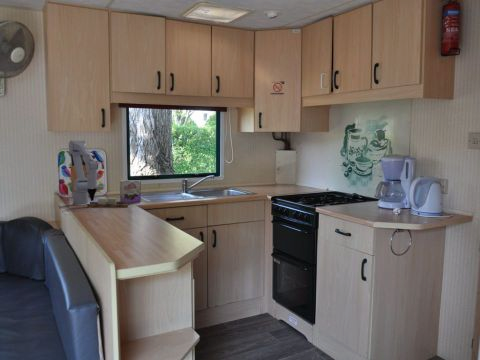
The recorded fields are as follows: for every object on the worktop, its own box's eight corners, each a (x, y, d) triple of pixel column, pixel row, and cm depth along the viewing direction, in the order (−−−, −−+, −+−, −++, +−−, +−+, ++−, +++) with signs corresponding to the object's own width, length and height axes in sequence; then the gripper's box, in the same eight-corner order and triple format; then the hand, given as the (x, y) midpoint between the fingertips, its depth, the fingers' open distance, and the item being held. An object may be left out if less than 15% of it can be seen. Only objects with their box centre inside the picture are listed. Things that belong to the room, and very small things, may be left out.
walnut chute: (87, 209, 273) (87, 204, 273) (90, 206, 286) (90, 201, 286) (127, 209, 278) (127, 204, 278) (129, 206, 291) (129, 201, 290)
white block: (97, 206, 278) (97, 198, 277) (99, 205, 283) (99, 197, 283) (105, 206, 279) (105, 198, 278) (107, 205, 284) (107, 197, 284)
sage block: (107, 206, 279) (107, 198, 278) (108, 205, 285) (108, 197, 284) (115, 206, 280) (115, 198, 279) (116, 205, 286) (116, 197, 285)
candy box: (120, 204, 297) (120, 180, 296) (120, 203, 303) (120, 180, 301) (140, 204, 301) (140, 180, 299) (140, 203, 306) (140, 180, 305)
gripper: (79, 180, 273) (79, 201, 274) (102, 180, 276) (102, 201, 277) (81, 179, 280) (81, 199, 281) (104, 179, 282) (104, 199, 284)
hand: (92, 200), depth 279 cm, fingers closed
